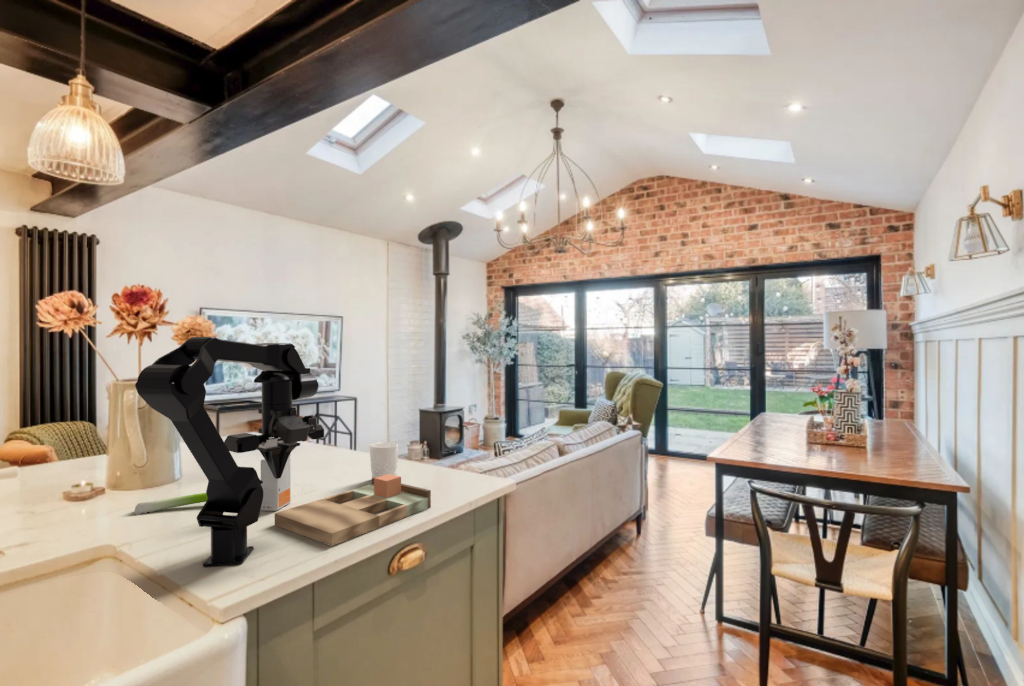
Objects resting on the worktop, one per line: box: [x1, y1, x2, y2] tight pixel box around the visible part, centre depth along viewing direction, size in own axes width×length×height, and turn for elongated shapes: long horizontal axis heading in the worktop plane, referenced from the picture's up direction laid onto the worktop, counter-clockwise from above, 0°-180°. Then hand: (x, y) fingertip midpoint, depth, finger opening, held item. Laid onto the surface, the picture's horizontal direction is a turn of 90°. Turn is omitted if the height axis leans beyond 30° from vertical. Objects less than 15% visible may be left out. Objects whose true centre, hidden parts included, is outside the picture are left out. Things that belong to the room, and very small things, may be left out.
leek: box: [133, 492, 208, 515], centre depth 118 cm, size 6×7×30 cm
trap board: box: [274, 477, 432, 547], centre depth 111 cm, size 27×20×4 cm
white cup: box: [369, 441, 399, 479], centre depth 140 cm, size 8×8×10 cm
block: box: [374, 474, 402, 498], centre depth 118 cm, size 4×4×4 cm
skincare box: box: [260, 454, 292, 512], centre depth 117 cm, size 6×4×12 cm
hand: (277, 478), depth 102 cm, fingers closed
